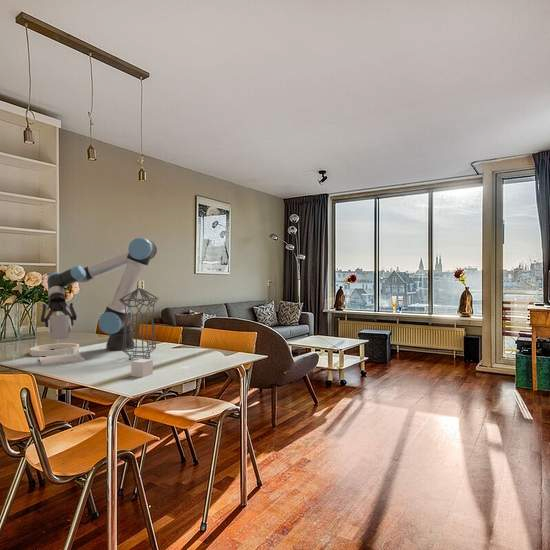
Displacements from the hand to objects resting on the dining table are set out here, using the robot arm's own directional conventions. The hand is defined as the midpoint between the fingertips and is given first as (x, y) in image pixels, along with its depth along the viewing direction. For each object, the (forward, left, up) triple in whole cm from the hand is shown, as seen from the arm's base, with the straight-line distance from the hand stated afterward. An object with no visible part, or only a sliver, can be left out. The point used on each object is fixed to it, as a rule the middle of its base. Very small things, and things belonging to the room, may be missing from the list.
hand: (60, 330), depth 198 cm
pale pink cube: (-50, +29, -15) cm, 60 cm away
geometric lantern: (-37, -5, -15) cm, 40 cm away
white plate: (+16, -23, -15) cm, 31 cm away
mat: (+1, -2, -15) cm, 15 cm away
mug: (+2, -3, -4) cm, 5 cm away
